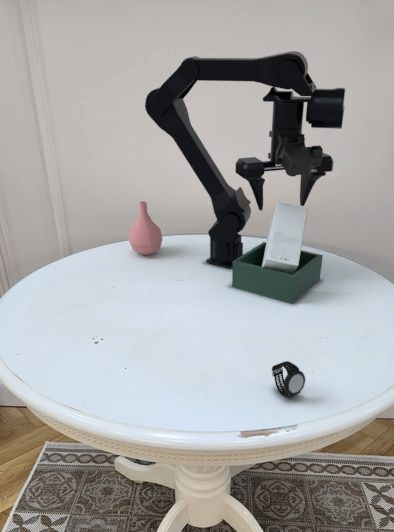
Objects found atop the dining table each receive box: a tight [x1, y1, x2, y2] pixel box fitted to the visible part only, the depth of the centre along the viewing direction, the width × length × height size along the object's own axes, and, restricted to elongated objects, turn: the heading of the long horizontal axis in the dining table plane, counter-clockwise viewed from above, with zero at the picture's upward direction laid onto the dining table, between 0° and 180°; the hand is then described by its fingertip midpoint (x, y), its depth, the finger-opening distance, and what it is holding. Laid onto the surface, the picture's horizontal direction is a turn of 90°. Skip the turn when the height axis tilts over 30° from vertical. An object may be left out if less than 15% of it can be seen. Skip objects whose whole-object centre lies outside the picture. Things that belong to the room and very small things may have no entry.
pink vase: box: [128, 201, 163, 256], centre depth 121 cm, size 8×8×12 cm
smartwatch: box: [271, 360, 306, 399], centre depth 77 cm, size 4×5×5 cm
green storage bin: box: [231, 241, 324, 304], centre depth 108 cm, size 14×13×6 cm
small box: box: [262, 201, 309, 275], centre depth 106 cm, size 8×6×13 cm
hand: (281, 207), depth 110 cm, fingers open, 9 cm apart
